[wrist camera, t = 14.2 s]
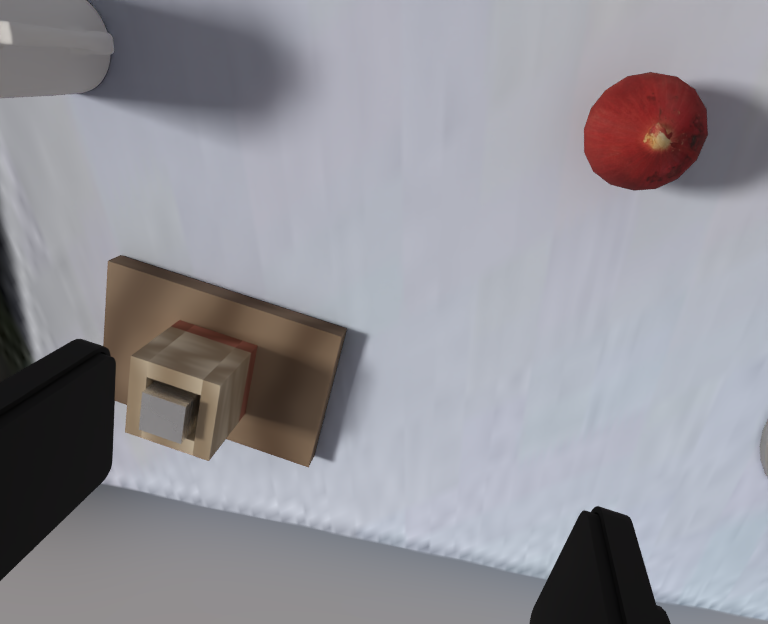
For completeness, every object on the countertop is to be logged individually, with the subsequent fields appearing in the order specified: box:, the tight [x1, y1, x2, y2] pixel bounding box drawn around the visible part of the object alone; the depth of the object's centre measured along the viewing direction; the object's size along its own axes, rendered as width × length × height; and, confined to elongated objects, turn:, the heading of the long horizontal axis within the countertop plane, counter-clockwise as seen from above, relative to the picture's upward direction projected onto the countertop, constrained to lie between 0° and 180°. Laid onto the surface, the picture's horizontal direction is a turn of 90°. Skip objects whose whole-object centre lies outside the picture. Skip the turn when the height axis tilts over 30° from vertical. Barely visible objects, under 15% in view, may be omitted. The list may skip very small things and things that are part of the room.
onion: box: [584, 72, 708, 190], centre depth 29 cm, size 6×6×8 cm
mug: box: [0, 0, 114, 98], centre depth 31 cm, size 10×7×12 cm, turn 86°
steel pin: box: [139, 380, 201, 444], centre depth 39 cm, size 3×3×7 cm
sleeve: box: [125, 320, 258, 461], centre depth 40 cm, size 6×6×6 cm
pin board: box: [103, 255, 347, 467], centre depth 43 cm, size 18×12×2 cm, turn 75°
